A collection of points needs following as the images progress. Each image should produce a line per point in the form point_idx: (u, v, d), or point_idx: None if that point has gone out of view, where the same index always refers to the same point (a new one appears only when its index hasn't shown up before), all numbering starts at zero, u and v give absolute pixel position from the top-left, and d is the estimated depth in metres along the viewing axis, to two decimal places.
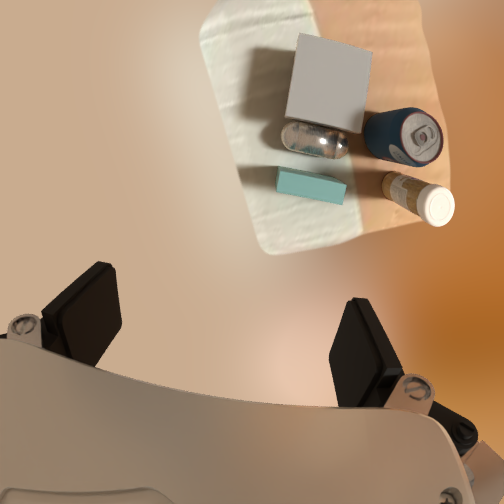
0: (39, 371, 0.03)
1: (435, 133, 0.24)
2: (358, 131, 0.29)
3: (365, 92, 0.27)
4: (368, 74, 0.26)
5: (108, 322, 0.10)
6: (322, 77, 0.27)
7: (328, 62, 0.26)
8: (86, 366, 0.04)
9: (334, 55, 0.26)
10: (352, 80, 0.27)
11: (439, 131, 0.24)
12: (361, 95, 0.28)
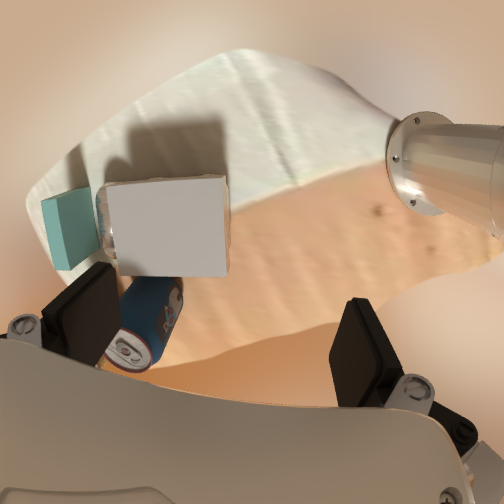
0: (39, 371, 0.03)
1: (139, 364, 0.25)
2: (120, 272, 0.26)
3: (166, 274, 0.26)
4: (191, 275, 0.26)
5: (108, 322, 0.10)
6: (163, 219, 0.24)
7: (187, 223, 0.24)
8: (86, 366, 0.04)
9: (200, 229, 0.25)
10: (174, 256, 0.26)
11: (143, 368, 0.25)
12: (160, 270, 0.26)
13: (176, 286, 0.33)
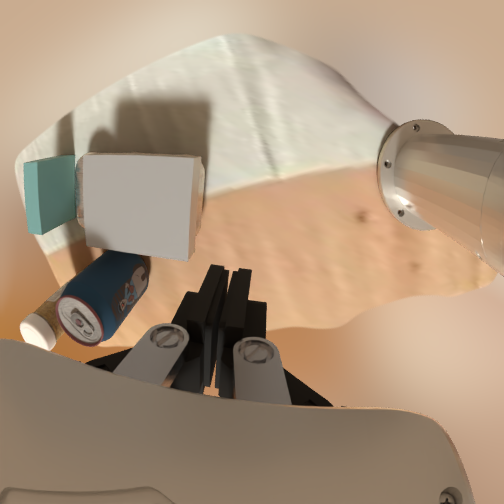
0: (39, 371, 0.03)
1: (91, 337, 0.23)
2: (87, 243, 0.25)
3: (129, 250, 0.25)
4: (153, 254, 0.25)
5: None
6: (132, 194, 0.23)
7: (154, 201, 0.23)
8: (86, 366, 0.04)
9: (166, 209, 0.23)
10: (138, 233, 0.24)
11: (95, 342, 0.23)
12: (124, 245, 0.25)
13: (143, 265, 0.31)
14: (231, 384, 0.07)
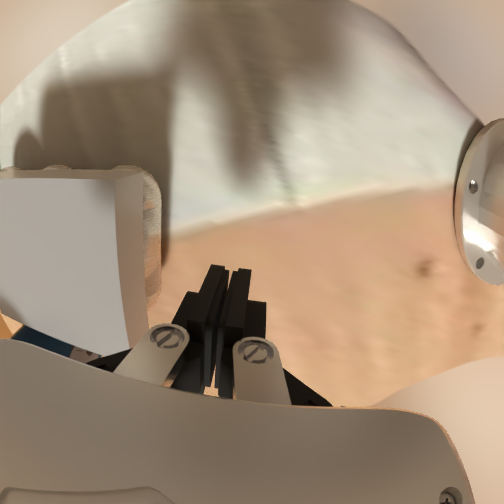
0: (39, 371, 0.03)
1: None
2: (1, 309, 0.13)
3: (48, 332, 0.13)
4: (80, 345, 0.13)
5: None
6: (31, 248, 0.11)
7: (62, 263, 0.11)
8: (86, 366, 0.04)
9: (82, 279, 0.11)
10: (52, 311, 0.12)
11: None
12: (40, 324, 0.13)
13: None
14: (231, 384, 0.07)
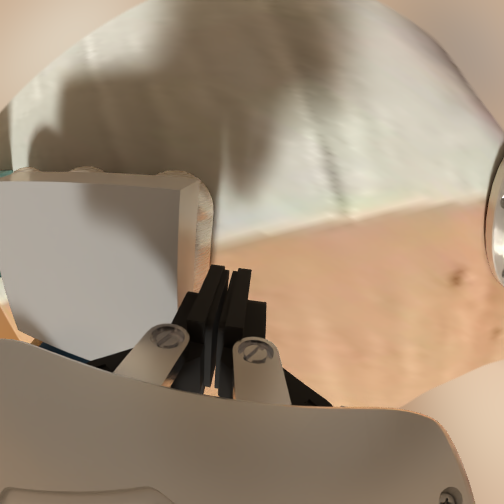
0: (39, 371, 0.03)
1: None
2: (18, 326, 0.12)
3: (78, 353, 0.12)
4: None
5: None
6: (62, 262, 0.10)
7: (102, 280, 0.10)
8: (86, 366, 0.04)
9: (128, 299, 0.10)
10: (85, 332, 0.11)
11: None
12: (68, 344, 0.12)
13: None
14: (231, 384, 0.07)
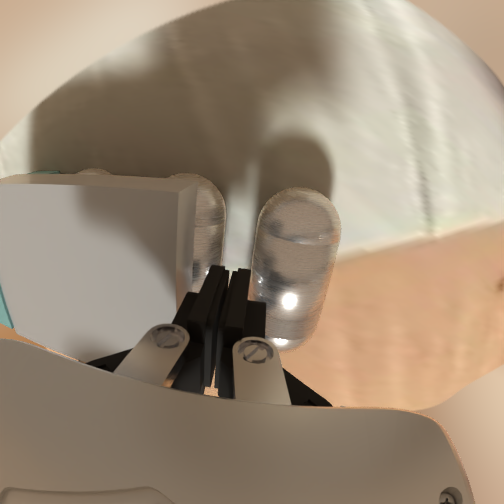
0: (39, 371, 0.03)
1: None
2: (16, 329, 0.12)
3: (76, 356, 0.12)
4: None
5: None
6: (59, 265, 0.10)
7: (100, 283, 0.10)
8: (86, 366, 0.04)
9: (126, 302, 0.10)
10: (84, 335, 0.11)
11: None
12: (67, 347, 0.12)
13: None
14: (230, 384, 0.07)
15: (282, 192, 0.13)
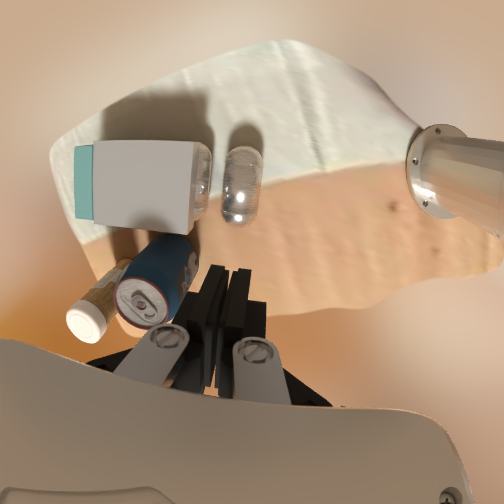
0: (39, 371, 0.03)
1: (152, 320, 0.26)
2: (94, 221, 0.27)
3: (134, 226, 0.27)
4: (156, 229, 0.27)
5: None
6: (138, 174, 0.25)
7: (158, 180, 0.26)
8: (86, 366, 0.04)
9: (168, 187, 0.26)
10: (142, 210, 0.27)
11: None
12: (129, 221, 0.27)
13: (195, 251, 0.34)
14: (231, 384, 0.07)
15: None
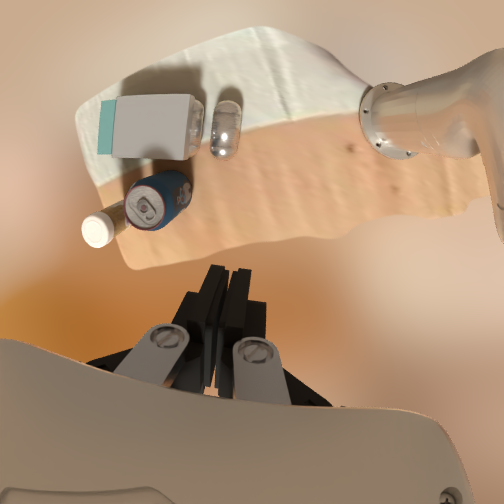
0: (39, 371, 0.03)
1: (151, 221, 0.33)
2: (112, 155, 0.35)
3: (143, 156, 0.35)
4: (159, 157, 0.35)
5: None
6: (149, 118, 0.33)
7: (163, 121, 0.33)
8: (86, 366, 0.04)
9: (171, 125, 0.33)
10: (150, 143, 0.34)
11: (154, 225, 0.34)
12: (140, 153, 0.35)
13: (189, 182, 0.41)
14: (231, 384, 0.07)
15: None
